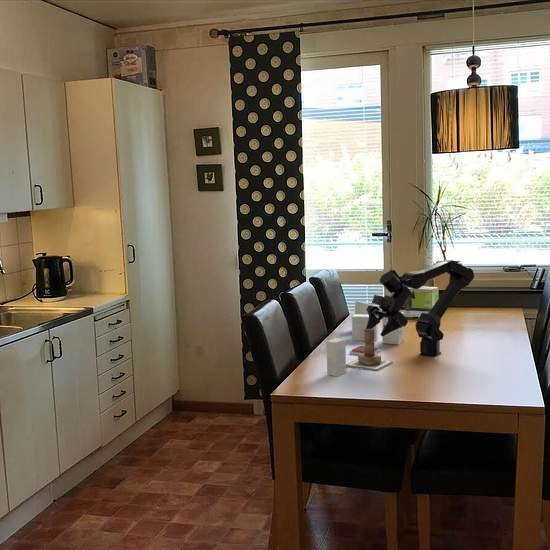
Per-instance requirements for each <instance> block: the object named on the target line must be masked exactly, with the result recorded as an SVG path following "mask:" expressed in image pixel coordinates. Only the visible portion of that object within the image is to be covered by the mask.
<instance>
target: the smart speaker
mask: <svg viewBox="0 0 550 550" xmlns="http://www.w3.org/2000/svg"><path fill="white" fill-rule="evenodd" d="M369 305H372V303H371V304H370V303H366V302H363V301H358V300H355V303H354V314H362V315H369V314H368V313H367V310H366V309H367V308H368V306H369Z"/></svg>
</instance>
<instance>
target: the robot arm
mask: <svg viewBox="0 0 550 550" xmlns="http://www.w3.org/2000/svg"><path fill="white" fill-rule="evenodd" d="M445 273H447V274H448V275H449V279H448V280H449V281H448V282H449V283H448V284H447V286H446V287H445V289H444V290H443V292H442V293H441V294H440V296H439V297H438V300H437V302H436V303H435V305H434V306H433V308H432V309H431V311H430V312H429V313H422V314H421V315H420V317H419V318H416V322H415V331H416V333H417V336H418V338H421V340H420V343H419V348H420V349H419V355H420V356H427V357H428V356H429V357H437V356H439V355H441V354H442V351H440V350H441V347H440V346H441V345H440V344H441V343H440V341H441V340H443V339H444V333H443V332H442V331H441V329H440V328H441V320H442V317H443V316H444V315H445V313H446V312H447V310H448V308H449V307H450V306H451V304H452V303H453V301H455V298H457V295H458V294H459V293H460V292H461V290H463V289H465V288H466V287H468V286H469V285H470V284H471V283H472V282H473V280H474V278H475V273H474V270H473V269H472V268H471V267H466V266H464V265H462V264H460V263H458V262H457V261H455V260H453V259H443V260H441V261H440V262H438V263H435V264H432V265H430V266H428V267H426V268H425V267H424V268H423V269H420V270H411V271H407V272H404V273H403V275H401V276H399V274H398V273H397V271H396V270H395V269H389V271H387V272H385V273H384V274H382V275H381V276H380V278H379V283H380V284H381V285H382V286H383V288H385V290H387V292H388V293H390V294H391V293H392V294H391V295H387V294H386V295H385V296H381V295H376V294H374V295H373V297H372V301H371V305H369V306H368V308H367V309H366V310H367V313H368V314H369V320H368V323H367V327H366V329H372V328H374V327H375V326H376V325H377V324H378V325H379V324H380V323H381V322H382V320H383V317H386V318H388V322H387V324H386V326H385V327H384V329H383V328H382V330H381V332H380V336H381V337H382V336H385V335H386V334H388V333H390V332H392V331H394V330H396V329H398V328H402V326H404V328H405V327H406V326H407V325H408V322H409V321H408V320H409V319H408V317H405V316H404V315H403V314H402V313H401V312H402V311H404V307H403V306H404V304H405V303H406V302H407V300H408V299H409V298H412V299H415V295H414V291H410V290H409V288H413V289H419V288H420V287H422V286H423V287H424V286H425V285H426V283H427V282H428V281H429V280H432V279H434V278H436V277H439V276H441V275H443V274H445Z"/></svg>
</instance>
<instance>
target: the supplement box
mask: <svg viewBox="0 0 550 550" xmlns="http://www.w3.org/2000/svg"><path fill="white" fill-rule="evenodd" d="M400 312H401V313H402V314H403V315H404V311H400ZM387 322H388V318H386V317H383V319H382V330H383V329H384V327H385V326H386V324H387ZM381 338H382V344H389V345H398V346H399V345H401V344H402V343H403V341H405V327H404V326H402V328H398V329H396V330H394V331H392V332H390V333H388V334H386V335H385V336H381Z"/></svg>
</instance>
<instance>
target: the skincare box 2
mask: <svg viewBox="0 0 550 550" xmlns="http://www.w3.org/2000/svg"><path fill="white" fill-rule="evenodd" d="M368 320H369V315H362V314H355V313H354V314H353V315H352V316H351V335H352V336H351V341H352V342H353V341H355V342H356V341H358V342H359V341H361V342H365V340H364V330H365V329H366V327H367V323H368ZM372 329H374V342H377V341H378V339H379V323H378V324H377V325H376V326H375V327H374V328H372Z"/></svg>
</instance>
